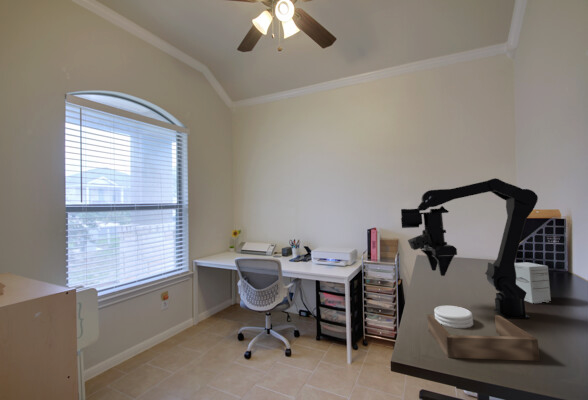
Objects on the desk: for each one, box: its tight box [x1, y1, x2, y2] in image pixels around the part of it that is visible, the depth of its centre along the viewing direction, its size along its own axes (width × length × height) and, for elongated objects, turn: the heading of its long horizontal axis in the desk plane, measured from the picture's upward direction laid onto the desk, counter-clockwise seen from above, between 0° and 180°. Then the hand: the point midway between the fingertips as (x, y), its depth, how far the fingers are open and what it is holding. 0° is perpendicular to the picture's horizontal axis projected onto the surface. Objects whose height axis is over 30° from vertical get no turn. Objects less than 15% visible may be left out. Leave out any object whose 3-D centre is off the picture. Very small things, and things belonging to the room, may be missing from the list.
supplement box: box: [515, 261, 552, 304], centre depth 97 cm, size 7×7×13 cm
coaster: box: [433, 305, 474, 329], centre depth 81 cm, size 10×10×4 cm
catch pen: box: [426, 314, 541, 362], centre depth 67 cm, size 18×14×4 cm
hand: (438, 273), depth 92 cm, fingers open, 8 cm apart
